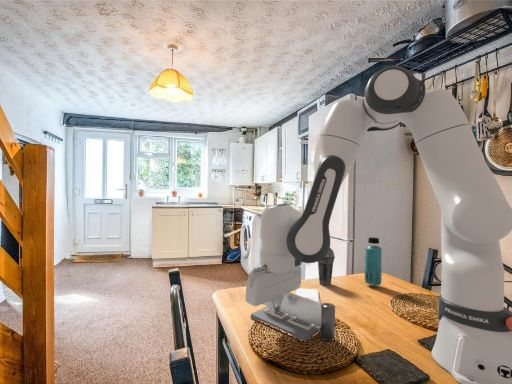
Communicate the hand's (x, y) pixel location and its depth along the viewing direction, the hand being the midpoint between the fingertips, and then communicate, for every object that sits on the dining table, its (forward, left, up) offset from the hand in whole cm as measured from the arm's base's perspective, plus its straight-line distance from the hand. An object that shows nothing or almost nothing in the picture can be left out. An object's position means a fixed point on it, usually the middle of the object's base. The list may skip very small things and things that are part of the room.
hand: (274, 312), depth 76 cm
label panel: (0, -8, -5) cm, 9 cm away
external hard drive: (+6, -26, -5) cm, 27 cm away
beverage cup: (+9, -44, -5) cm, 45 cm away
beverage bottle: (-6, -56, -5) cm, 56 cm away
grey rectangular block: (-3, -6, -4) cm, 8 cm away
